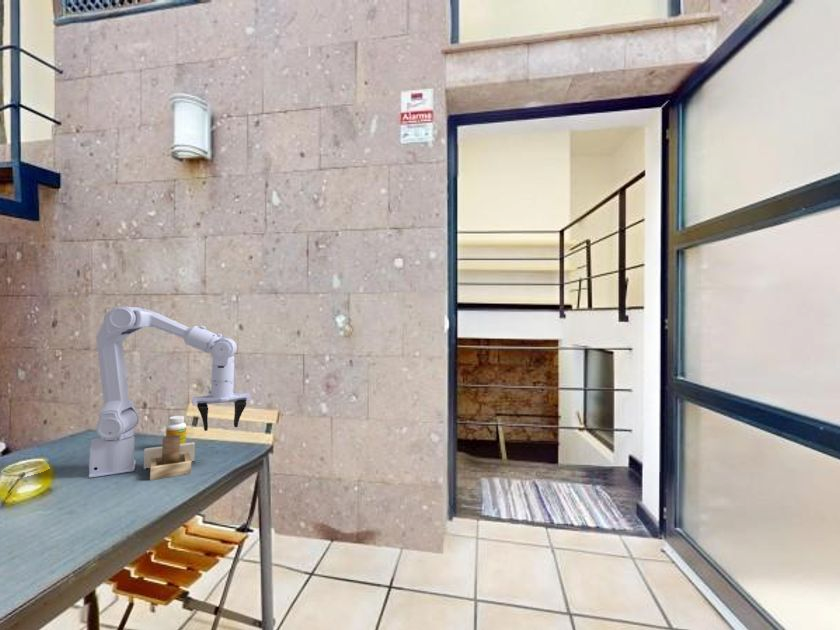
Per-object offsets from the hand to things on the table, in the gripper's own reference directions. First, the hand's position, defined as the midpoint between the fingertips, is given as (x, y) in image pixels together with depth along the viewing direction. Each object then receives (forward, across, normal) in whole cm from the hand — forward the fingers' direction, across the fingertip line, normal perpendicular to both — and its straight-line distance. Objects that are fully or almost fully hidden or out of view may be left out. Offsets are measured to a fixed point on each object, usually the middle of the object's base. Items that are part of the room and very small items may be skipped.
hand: (221, 428), depth 112 cm
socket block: (+10, -12, +2) cm, 16 cm away
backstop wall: (+10, -12, +7) cm, 17 cm away
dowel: (+9, -12, +2) cm, 15 cm away
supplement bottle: (+11, -10, +21) cm, 26 cm away
